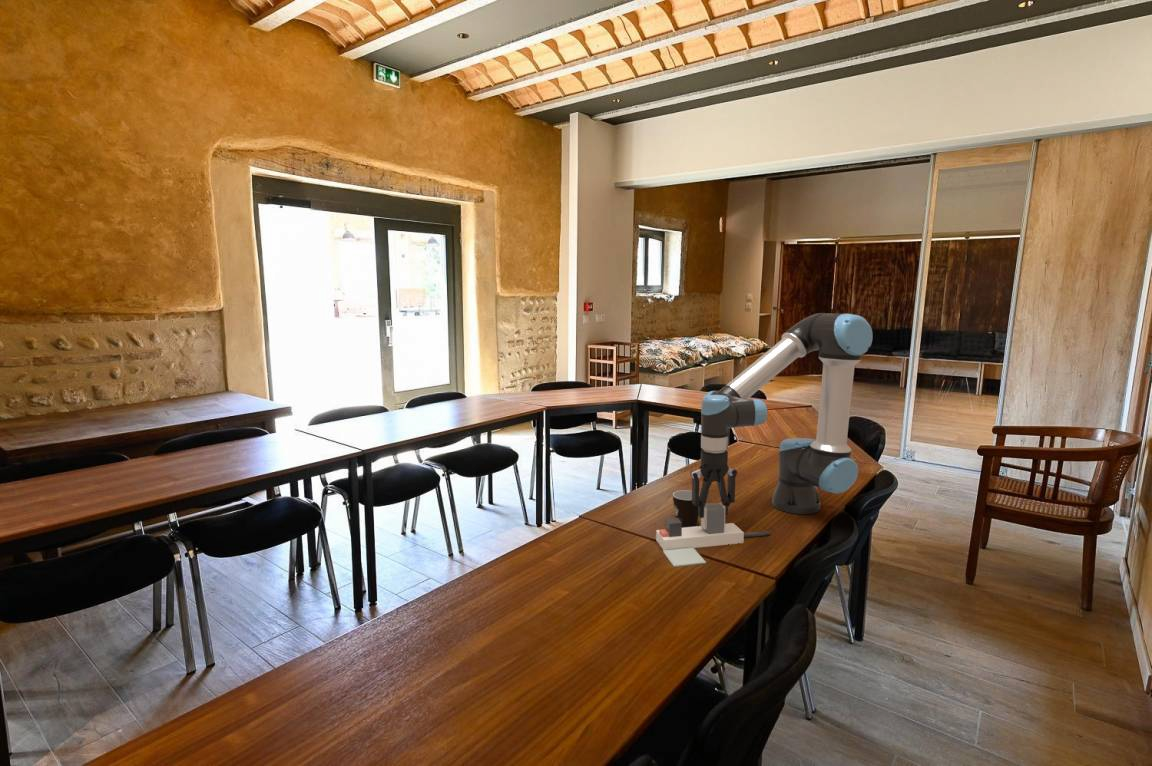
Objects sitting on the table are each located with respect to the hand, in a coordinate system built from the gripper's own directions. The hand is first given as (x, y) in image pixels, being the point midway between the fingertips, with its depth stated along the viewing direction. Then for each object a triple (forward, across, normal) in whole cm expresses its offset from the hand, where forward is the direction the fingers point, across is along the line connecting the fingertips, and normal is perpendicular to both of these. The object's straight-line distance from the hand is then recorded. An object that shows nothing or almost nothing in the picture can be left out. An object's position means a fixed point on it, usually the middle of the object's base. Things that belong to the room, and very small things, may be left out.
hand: (712, 526), depth 165 cm
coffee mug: (+5, +3, -13) cm, 14 cm away
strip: (+4, -1, 0) cm, 4 cm away
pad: (+4, +12, +8) cm, 15 cm away
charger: (+4, 0, 0) cm, 4 cm away
